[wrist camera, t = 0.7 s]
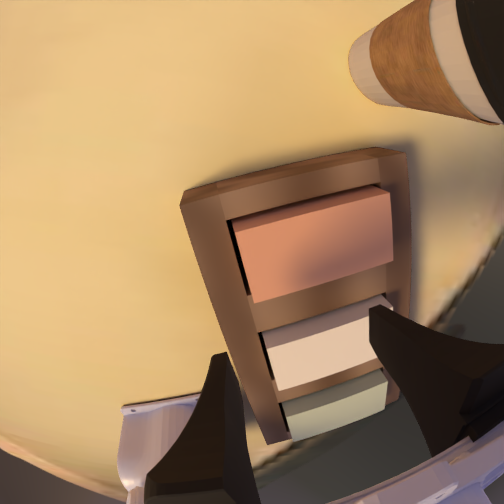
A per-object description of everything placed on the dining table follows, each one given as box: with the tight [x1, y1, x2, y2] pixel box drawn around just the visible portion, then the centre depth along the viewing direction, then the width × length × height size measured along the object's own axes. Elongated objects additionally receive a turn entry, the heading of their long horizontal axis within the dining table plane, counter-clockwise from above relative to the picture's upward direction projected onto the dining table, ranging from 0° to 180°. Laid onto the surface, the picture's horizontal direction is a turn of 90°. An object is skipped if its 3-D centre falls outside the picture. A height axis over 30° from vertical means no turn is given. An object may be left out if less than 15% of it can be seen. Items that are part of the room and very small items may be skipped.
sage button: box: [282, 368, 388, 442], centre depth 25 cm, size 9×4×4 cm, turn 103°
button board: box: [180, 147, 411, 445], centre depth 23 cm, size 14×24×4 cm, turn 13°
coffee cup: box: [348, 0, 504, 125], centre depth 12 cm, size 8×8×15 cm
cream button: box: [262, 294, 393, 391], centre depth 22 cm, size 9×4×4 cm, turn 103°
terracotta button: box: [231, 184, 393, 303], centre depth 19 cm, size 9×4×4 cm, turn 103°
